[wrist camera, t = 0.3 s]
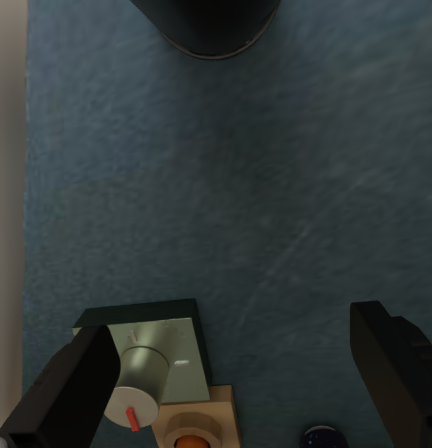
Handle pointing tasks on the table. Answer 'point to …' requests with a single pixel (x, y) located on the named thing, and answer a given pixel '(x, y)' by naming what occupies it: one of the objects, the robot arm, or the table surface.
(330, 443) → the beverage can
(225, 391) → the button block
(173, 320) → the control knob panel
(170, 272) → the table surface
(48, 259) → the table surface
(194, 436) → the button
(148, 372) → the rotary dial knob
